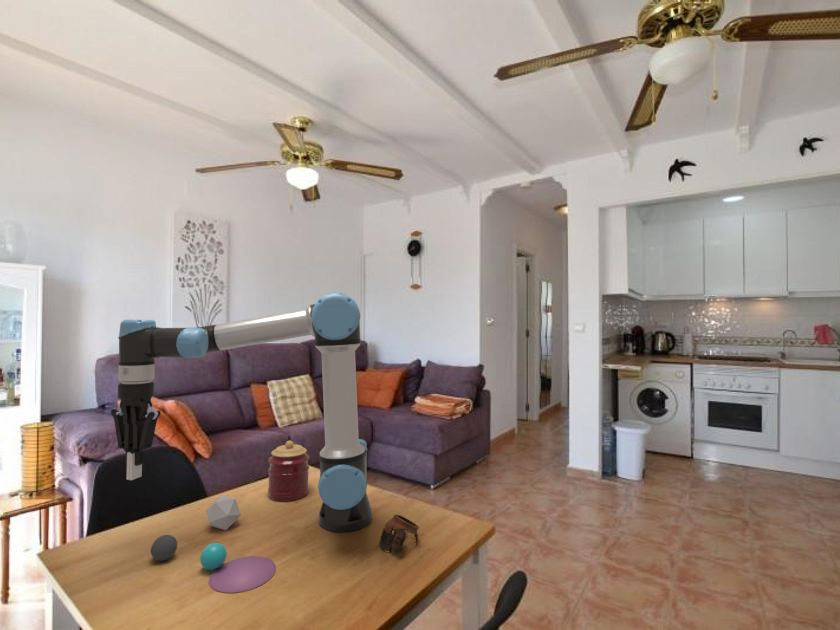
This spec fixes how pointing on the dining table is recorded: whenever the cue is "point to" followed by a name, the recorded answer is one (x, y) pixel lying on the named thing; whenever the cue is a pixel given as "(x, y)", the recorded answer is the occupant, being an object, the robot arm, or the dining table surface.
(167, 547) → the dark grey ellipsoid
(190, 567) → the dining table surface
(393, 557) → the dining table surface
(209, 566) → the object ball
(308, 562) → the dining table surface
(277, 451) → the canister
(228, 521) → the die
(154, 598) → the dining table surface
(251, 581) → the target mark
